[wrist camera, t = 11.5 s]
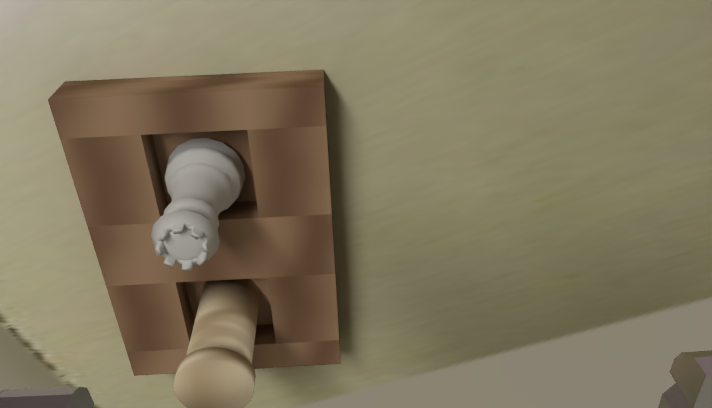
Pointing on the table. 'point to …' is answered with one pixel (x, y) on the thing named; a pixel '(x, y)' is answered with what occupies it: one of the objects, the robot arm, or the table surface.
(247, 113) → the pallet board
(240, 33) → the table surface
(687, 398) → the robot arm
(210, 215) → the rook chess piece
